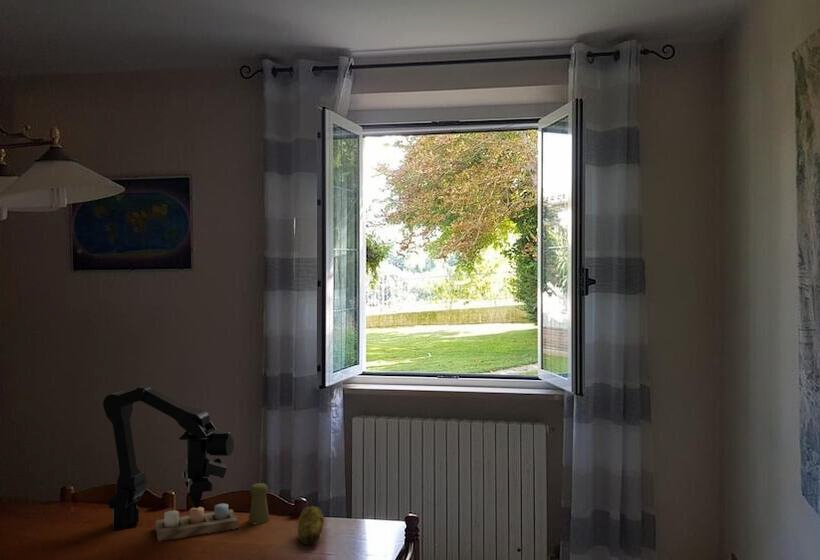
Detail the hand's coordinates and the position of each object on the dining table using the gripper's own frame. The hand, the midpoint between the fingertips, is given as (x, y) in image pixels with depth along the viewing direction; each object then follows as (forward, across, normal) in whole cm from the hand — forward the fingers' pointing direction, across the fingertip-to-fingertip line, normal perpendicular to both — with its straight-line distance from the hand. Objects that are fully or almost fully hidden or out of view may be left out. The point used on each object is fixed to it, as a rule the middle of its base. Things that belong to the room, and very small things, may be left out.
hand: (196, 507), depth 192 cm
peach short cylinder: (+4, 0, 0) cm, 4 cm away
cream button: (+4, 0, +7) cm, 8 cm away
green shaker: (+6, -1, -18) cm, 19 cm away
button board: (+6, 0, 0) cm, 6 cm away
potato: (+6, -21, -28) cm, 36 cm away
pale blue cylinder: (+5, 0, -7) cm, 8 cm away
